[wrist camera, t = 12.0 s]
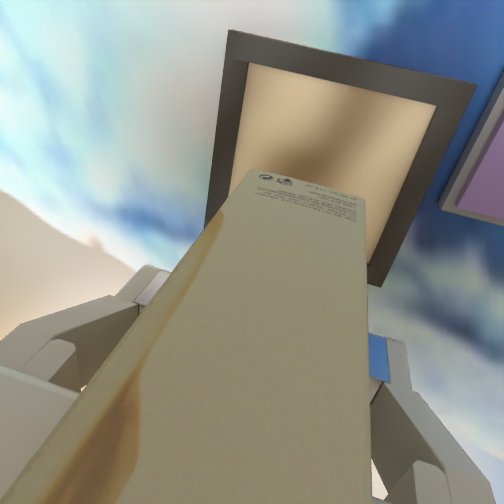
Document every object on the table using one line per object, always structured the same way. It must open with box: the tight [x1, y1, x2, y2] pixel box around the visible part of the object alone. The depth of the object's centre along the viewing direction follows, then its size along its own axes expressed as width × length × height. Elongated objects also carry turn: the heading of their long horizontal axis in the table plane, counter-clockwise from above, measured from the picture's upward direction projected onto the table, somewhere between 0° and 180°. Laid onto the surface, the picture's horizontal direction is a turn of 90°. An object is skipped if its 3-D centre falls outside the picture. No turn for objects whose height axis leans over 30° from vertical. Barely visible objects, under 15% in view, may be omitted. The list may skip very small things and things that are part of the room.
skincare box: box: [0, 169, 372, 504], centre depth 9 cm, size 6×4×12 cm
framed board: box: [204, 30, 477, 287], centre depth 21 cm, size 12×12×1 cm
